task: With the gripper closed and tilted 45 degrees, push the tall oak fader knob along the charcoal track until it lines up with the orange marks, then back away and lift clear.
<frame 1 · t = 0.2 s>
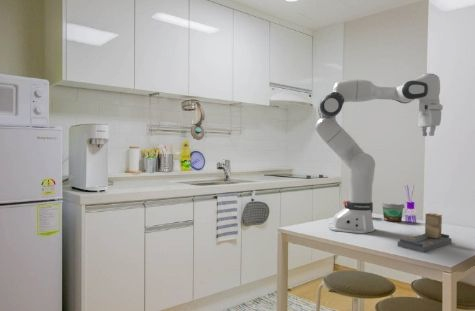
hand: (427, 136, 182), 48 cm above the table, tool pointing down, fingers open, 8 cm apart
fader track: (424, 244, 163), on the table
food container: (394, 222, 207), on the table
fader knob: (433, 225, 167), point 8 cm above the table, slide at 0.0 cm
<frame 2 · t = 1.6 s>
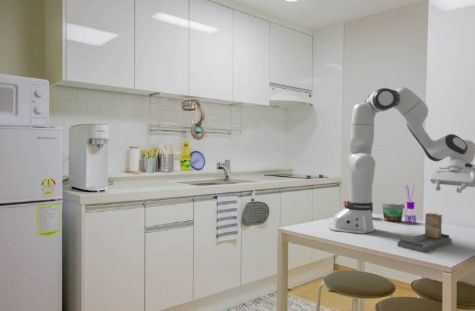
hand: (447, 190, 173), 22 cm above the table, tool tilted 45°, fingers open, 8 cm apart
nothing on the table moved.
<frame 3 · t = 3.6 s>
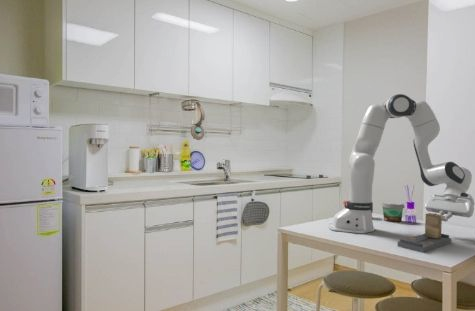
hand: (442, 220, 172), 9 cm above the table, tool tilted 45°, fingers closed
nothing on the table moved.
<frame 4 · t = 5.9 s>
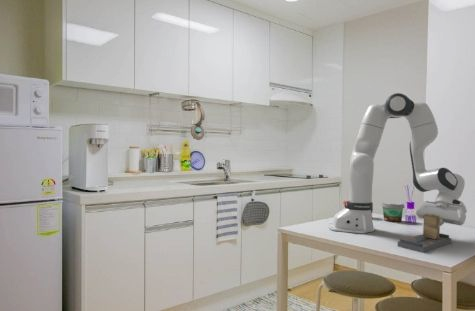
hand: (434, 227, 167), 6 cm above the table, tool tilted 45°, fingers closed, pressing on fader knob
fader knob: (431, 225, 166), point 8 cm above the table, slide at 1.7 cm, touching gripper
everything else where it was.
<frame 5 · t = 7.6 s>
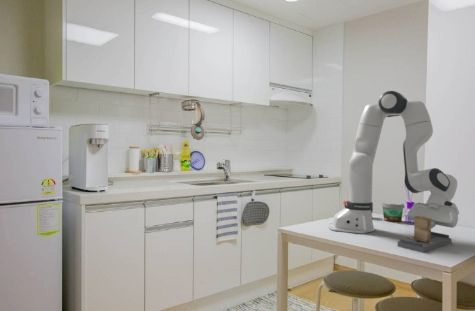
hand: (425, 230, 163), 6 cm above the table, tool tilted 45°, fingers closed, pressing on fader knob
fader knob: (422, 228, 161), point 8 cm above the table, slide at 9.5 cm, touching gripper
everything else where it was.
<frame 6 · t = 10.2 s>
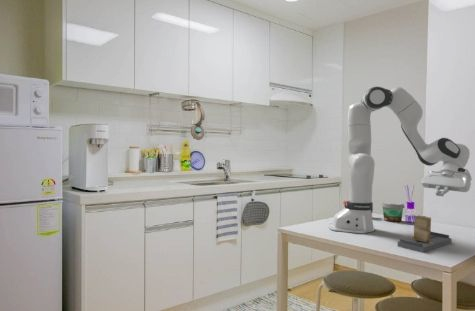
hand: (439, 195, 170), 21 cm above the table, tool tilted 45°, fingers closed
fader knob: (422, 228, 161), point 7 cm above the table, slide at 9.7 cm
everything else where it was.
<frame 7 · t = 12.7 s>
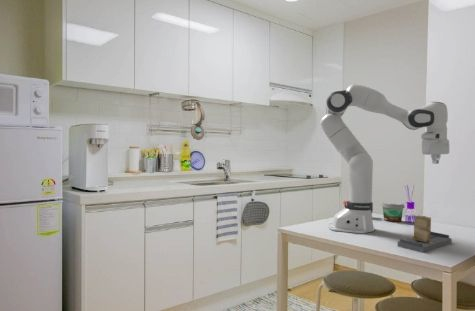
hand: (435, 163, 182), 34 cm above the table, tool pointing down, fingers closed
nothing on the table moved.
at the end: fader knob slide at 9.7 cm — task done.
